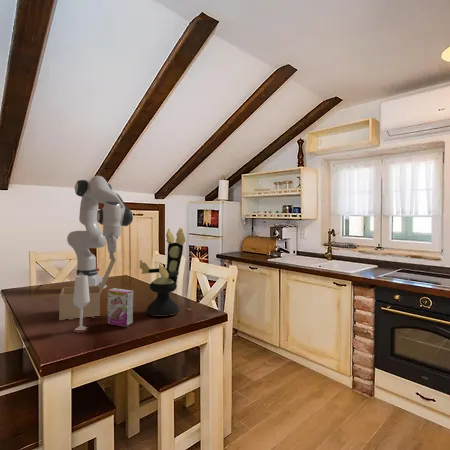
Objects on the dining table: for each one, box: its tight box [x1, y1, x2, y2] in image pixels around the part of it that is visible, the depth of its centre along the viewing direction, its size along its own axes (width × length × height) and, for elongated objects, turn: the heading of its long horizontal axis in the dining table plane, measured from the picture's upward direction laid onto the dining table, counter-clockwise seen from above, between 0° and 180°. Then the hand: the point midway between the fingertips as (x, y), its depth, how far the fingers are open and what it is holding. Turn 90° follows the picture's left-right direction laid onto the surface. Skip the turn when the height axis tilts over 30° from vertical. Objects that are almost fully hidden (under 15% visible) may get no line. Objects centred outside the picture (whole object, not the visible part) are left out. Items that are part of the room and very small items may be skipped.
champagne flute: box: [73, 275, 90, 330], centre depth 140 cm, size 7×7×24 cm
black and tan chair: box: [139, 226, 186, 316], centre depth 168 cm, size 19×22×45 cm
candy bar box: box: [106, 287, 134, 326], centre depth 148 cm, size 11×5×16 cm, turn 71°
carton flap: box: [100, 254, 117, 294], centre depth 167 cm, size 18×16×1 cm
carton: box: [58, 286, 101, 321], centre depth 162 cm, size 18×16×12 cm
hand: (111, 258), depth 167 cm, fingers closed
